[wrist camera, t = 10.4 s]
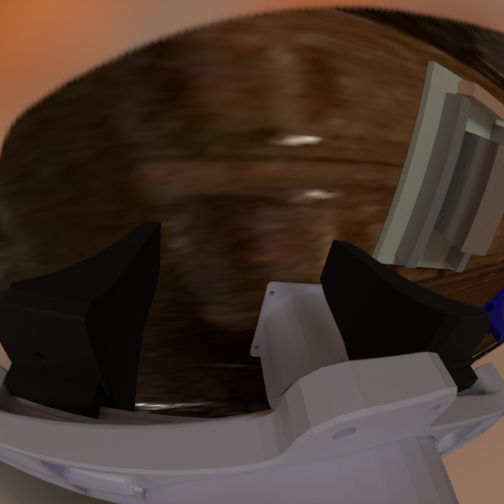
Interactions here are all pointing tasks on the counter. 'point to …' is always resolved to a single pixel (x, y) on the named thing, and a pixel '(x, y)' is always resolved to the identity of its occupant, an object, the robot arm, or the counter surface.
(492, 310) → the cable clip
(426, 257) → the drive tray
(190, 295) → the counter surface
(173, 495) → the robot arm
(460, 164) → the block
